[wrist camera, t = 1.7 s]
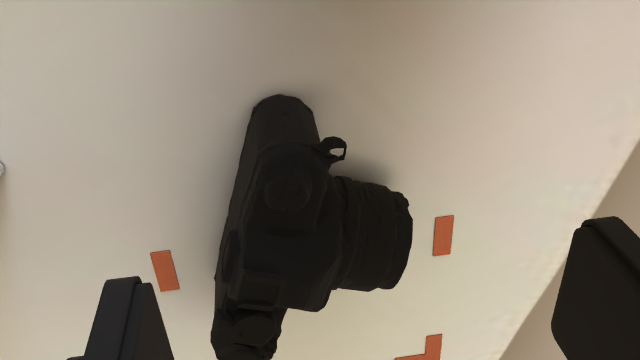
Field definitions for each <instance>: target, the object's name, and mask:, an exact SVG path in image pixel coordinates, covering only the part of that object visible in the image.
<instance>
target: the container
mask: <svg viewBox="0 0 640 360" xmlns="http://www.w3.org/2000/svg"><path fill="white" fill-rule="evenodd" d="M3 173H4V167H3V165H2V164H1V163H0V177H1V176H2V174H3Z"/></svg>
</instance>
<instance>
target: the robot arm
mask: <svg viewBox="0 0 640 360" xmlns="http://www.w3.org/2000/svg"><path fill="white" fill-rule="evenodd" d="M551 329H552V333H553V336H554V338H555V340H556V342H557V344H558V345H559V347H560V348H561V350H562V351H563V353H564V355H565V356H566V358H567V360H640V238H639V237H638V236H637V235H636V234H635V233H634V232H633V231H632V230H631V229H630V228H629V227H628V226H627V225H626V224H625V223H624V222H623V221H622V220H621V219H619V218H618V217H615V216H612V217H605V218H597V219H588V220H585V221H584V222H583V223H582V225H581V227H580V228H577V229H576V230H575V232H574V234H573V238H572V242H571V246H570V250H569V254H568V258H567V262H566V266H565V269H564V274H563V277H562V281H561V286H560V289H559V293H558V297H557V301H556V305H555V309H554V313H553V317H552V321H551ZM67 360H174V357H173V354H172V351H171V347H170V344H169V340H168V337H167V333H166V330H165V327H164V323H163V320H162V316H161V313H160V310H159V306H158V303H157V299H156V296H155V293H154V289H153V286H152V284H151V283H142V281H141V279H140V277H139V276H134V277H126V278H118V279H110V280H107V281H106V282H105V284H104V287H103V290H102V294H101V297H100V301H99V304H98V308H97V311H96V315H95V318H94V322H93V325H92V329H91V332H90V336H89V340H88V343H87V347H86V350H85V354H84V356H78V357H71V358H68V359H67Z"/></svg>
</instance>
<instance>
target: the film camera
mask: <svg viewBox="0 0 640 360" xmlns="http://www.w3.org/2000/svg"><path fill="white" fill-rule="evenodd" d="M335 148H344V152H343V155H341V156H339V157H338V156H336V155H332V154H331V153H330V150H331V149H335ZM346 148H347V145H346V142H345V141H343V140H342V139H341V138H338V137H334V136H333V137H327V138H325V139H324V140H323V141H322V142H320V139H319V135H318V131H317V128H316V124H315V120H314V116H313V112H312V111H311V109H310V108H309V107H307V106H306V105H305V104H304V103H303V102H302V101H301V100H300V99H298V98H296V97H291V96H284V95H280V94H278V95H275V96H271V97H269V98H266V99H264V100H262V101H261V102H260V103H259V104H258V105H257V106H256V107H254V108H253V111H252V115H251V119H250V122H249V124H248V127H247V132H246V137H245V142H244V146H243V149H242V153H241V157H240V162H239V168H238V172H237V176H236V180H235V185H234V190H233V193H232V197H231V200H230V205H229V212H228V217H227V219H226V224H225V228H224V232H223V236H222V240H221V244H220V250H219V258H218V263H217V269H216V274H215V277H214V279H215V311H214V320H213V325H212V330H211V344H212V346H213V348H214V350H215V354H216V357H217V359H218V360H270V359H272V356H273V354H274V353H275V352H276V349H277V339H278V338H279V336H280V334H281V324H282V321H283V318H284V315H285V313H286V311H287V309H288V308H291V309H299V310H303V311H310V312H318V311H320V310H321V309H322V308H324V307H325V305H326V303H327V301H328V299H329V296H330V293H331V290H336V289H337V288H341V289H349V290H358V291H366V292H369V291H372V290H374V289H376V288H381V289H392V288H394V287H395V286H396V284H397V283H398V282H399V280H400V278H401V276H402V274H403V272H404V270H405V268H406V265H407V261H408V257H409V252H410V249H411V244H412V232H413V219H412V217H411V216H410V214H409V211H408V206H409V203H408V200H407V199H406V198H405V197H404V196H403V194H402V193H400V192H393V191H390V190H389V189H388V188H387V187H386V186H383V185H379V184H375V183H364V182H359V181H354V180H352V179H351V178H349V177H342V176H336V177H332V176H331V175H330V174H329V172H328V170H329V168H330V166H331V164H333V163H335V162H337V161H340V160H344V158H345V153H346Z"/></svg>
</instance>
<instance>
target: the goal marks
mask: <svg viewBox="0 0 640 360" xmlns="http://www.w3.org/2000/svg"><path fill="white" fill-rule="evenodd" d="M453 222H454V216H445V217H437V218H436V221H435V234H434V247H433V256H439V255H447V254H450V252H451V242H452V232H453ZM150 255H151V259H152V262H153V266H154V269H155V273H156V276H157V280H158V283H159V287H160V290H161V292H162V291H169V290H177V289H180V288H179V284H178V280H177V276H176V272H175V269H174V265H173V261H172V257H171V253H170V251H162V252H154V253H150ZM441 343H442V334H439V335H432V336H427V337H426V350H425V354H422V355H415V356H408V357H401V358H395V360H440V353H441Z"/></svg>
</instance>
